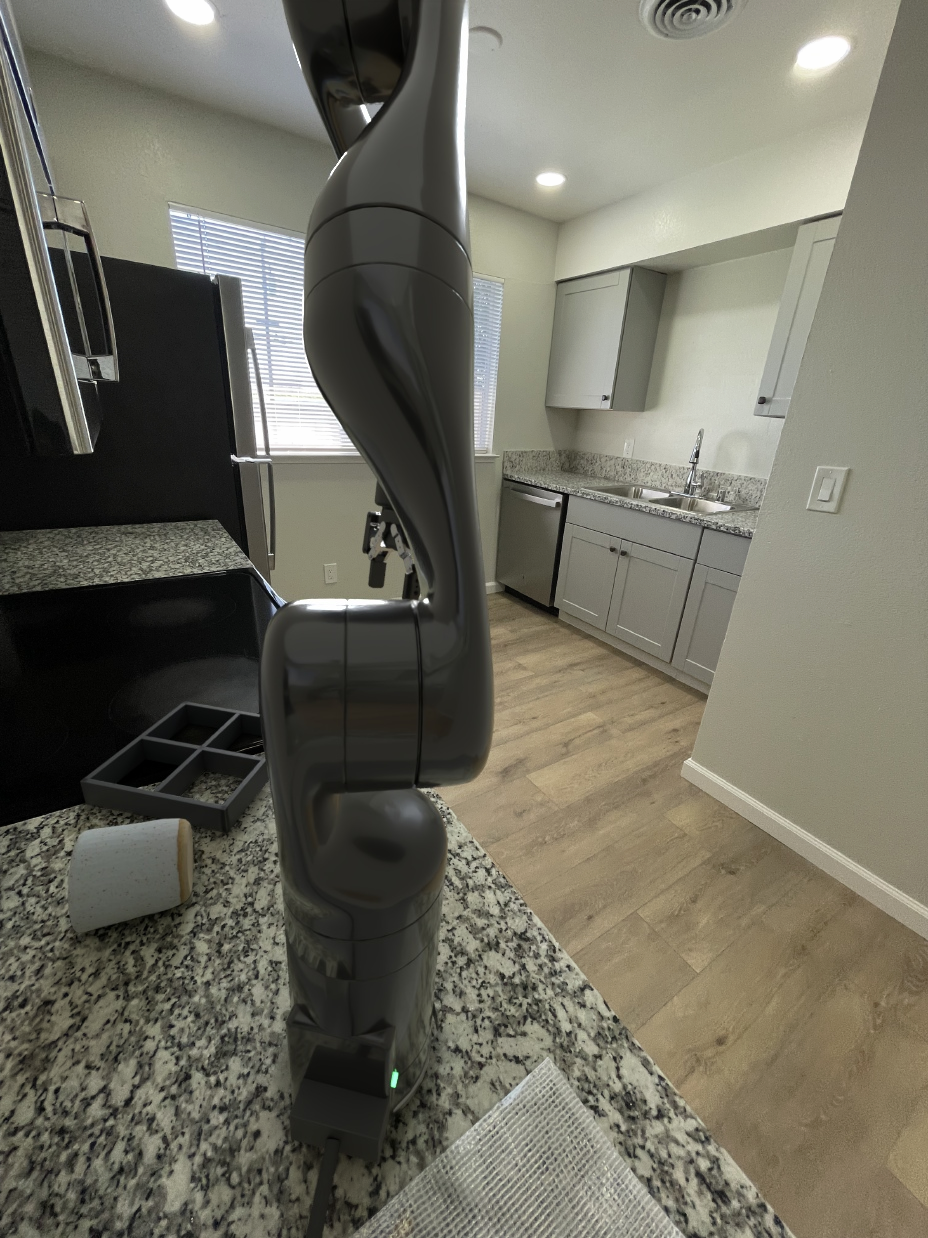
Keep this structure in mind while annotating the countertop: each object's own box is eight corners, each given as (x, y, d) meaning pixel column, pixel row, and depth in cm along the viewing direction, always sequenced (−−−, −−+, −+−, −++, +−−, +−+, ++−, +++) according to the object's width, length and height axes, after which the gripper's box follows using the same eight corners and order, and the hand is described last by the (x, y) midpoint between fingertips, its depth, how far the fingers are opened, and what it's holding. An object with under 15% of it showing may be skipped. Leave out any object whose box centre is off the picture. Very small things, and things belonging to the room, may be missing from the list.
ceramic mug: (195, 921, 43) (184, 852, 40) (77, 956, 40) (56, 884, 37) (198, 832, 52) (189, 770, 49) (101, 854, 48) (86, 789, 46)
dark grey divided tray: (227, 833, 52) (224, 810, 51) (85, 804, 54) (79, 781, 53) (300, 740, 67) (299, 721, 66) (187, 720, 69) (184, 701, 67)
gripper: (354, 465, 68) (342, 583, 72) (415, 470, 58) (398, 607, 62) (400, 474, 73) (387, 584, 77) (464, 480, 63) (445, 607, 67)
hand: (392, 594), depth 69 cm, fingers open, 8 cm apart
